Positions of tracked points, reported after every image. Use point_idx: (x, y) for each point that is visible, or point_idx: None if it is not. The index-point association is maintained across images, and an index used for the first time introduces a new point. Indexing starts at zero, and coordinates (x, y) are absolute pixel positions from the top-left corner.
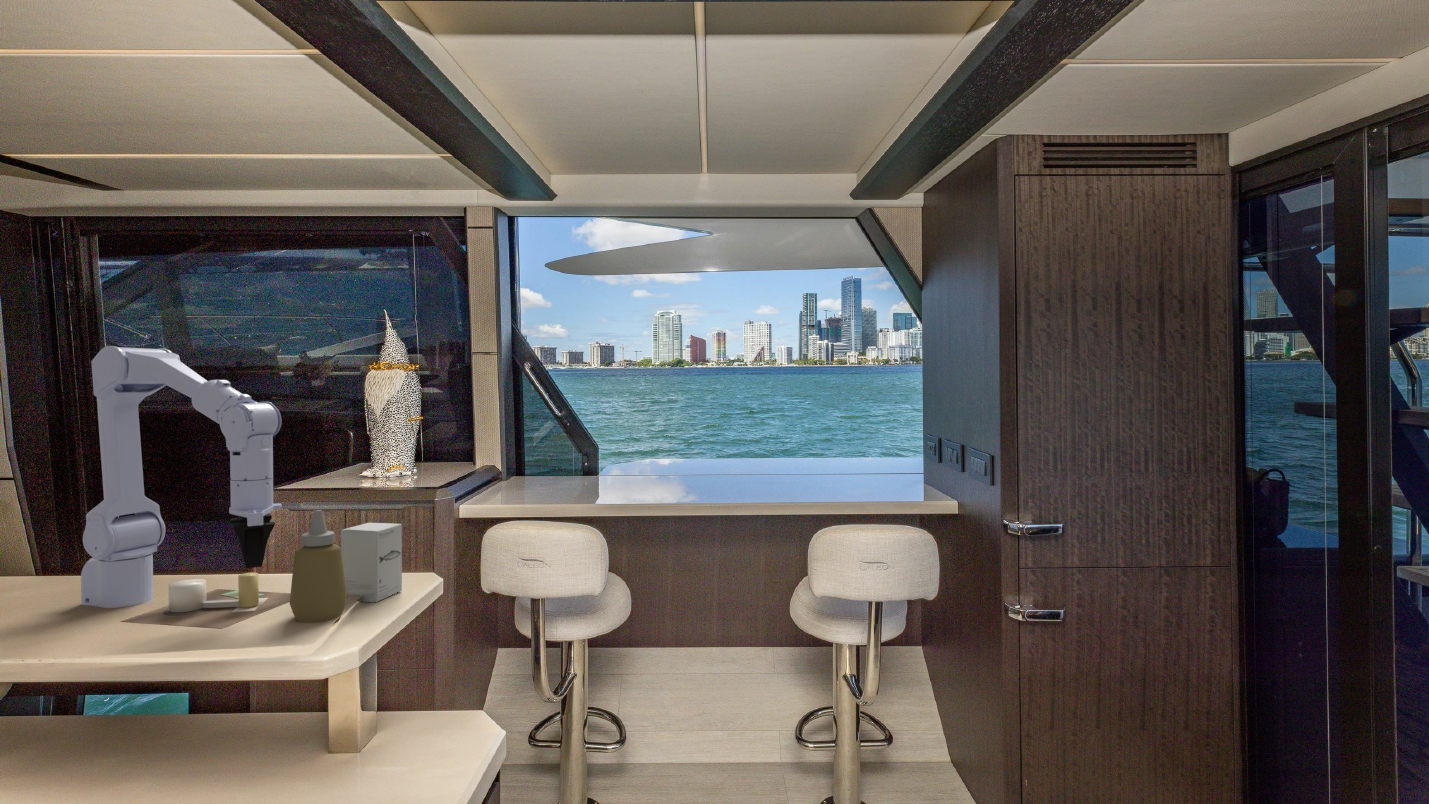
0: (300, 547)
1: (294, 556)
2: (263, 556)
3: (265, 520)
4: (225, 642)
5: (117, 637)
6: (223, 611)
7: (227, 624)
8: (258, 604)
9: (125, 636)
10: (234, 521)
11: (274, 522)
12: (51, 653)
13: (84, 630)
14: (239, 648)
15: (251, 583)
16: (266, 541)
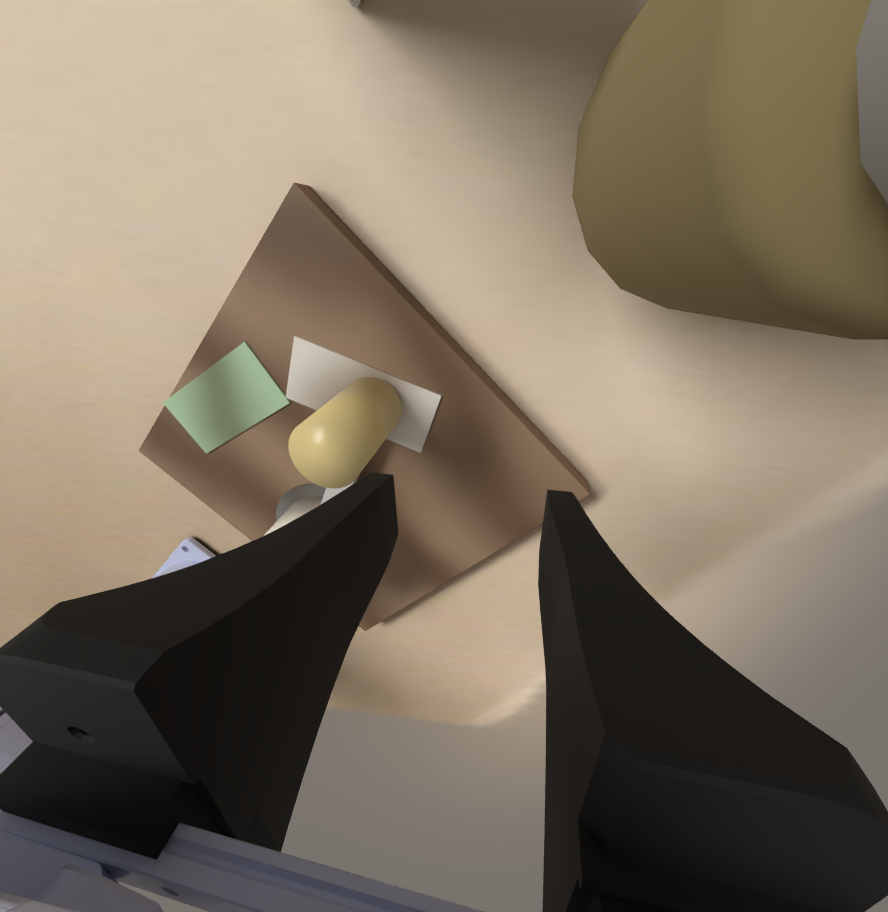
0: (821, 270)
1: (824, 333)
2: (592, 524)
3: (208, 674)
4: (657, 481)
5: (431, 626)
6: (396, 468)
7: (554, 477)
8: (370, 376)
9: (432, 617)
10: (267, 846)
11: (755, 793)
12: (472, 695)
13: (347, 650)
14: (762, 460)
15: (369, 435)
16: (662, 609)
